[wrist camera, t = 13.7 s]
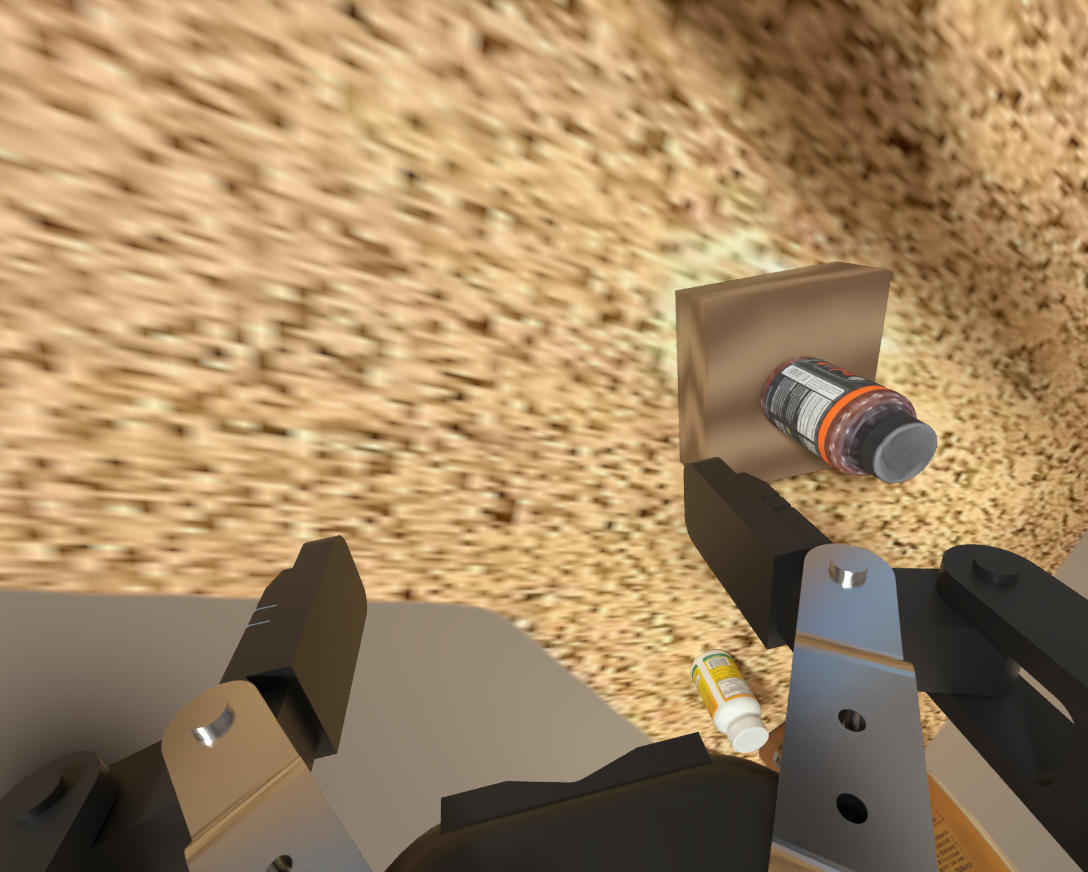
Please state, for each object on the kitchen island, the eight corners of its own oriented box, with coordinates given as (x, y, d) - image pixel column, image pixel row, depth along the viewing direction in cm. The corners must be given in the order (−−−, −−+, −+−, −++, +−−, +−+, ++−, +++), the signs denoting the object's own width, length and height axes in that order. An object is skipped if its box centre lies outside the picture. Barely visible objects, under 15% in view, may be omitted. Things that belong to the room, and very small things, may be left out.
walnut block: (675, 290, 41) (708, 304, 36) (836, 261, 42) (892, 270, 37) (680, 461, 48) (708, 494, 43) (817, 432, 49) (862, 461, 44)
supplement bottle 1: (713, 641, 59) (756, 716, 51) (739, 659, 61) (785, 733, 53) (679, 669, 61) (716, 747, 52) (706, 686, 63) (746, 763, 54)
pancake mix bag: (733, 749, 69) (890, 1061, 44) (845, 665, 65) (1088, 954, 40) (759, 765, 72) (922, 1068, 47) (869, 685, 68) (1111, 968, 43)
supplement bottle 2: (842, 369, 40) (976, 428, 29) (798, 434, 42) (910, 510, 31) (784, 341, 38) (906, 393, 28) (742, 410, 40) (840, 483, 30)
